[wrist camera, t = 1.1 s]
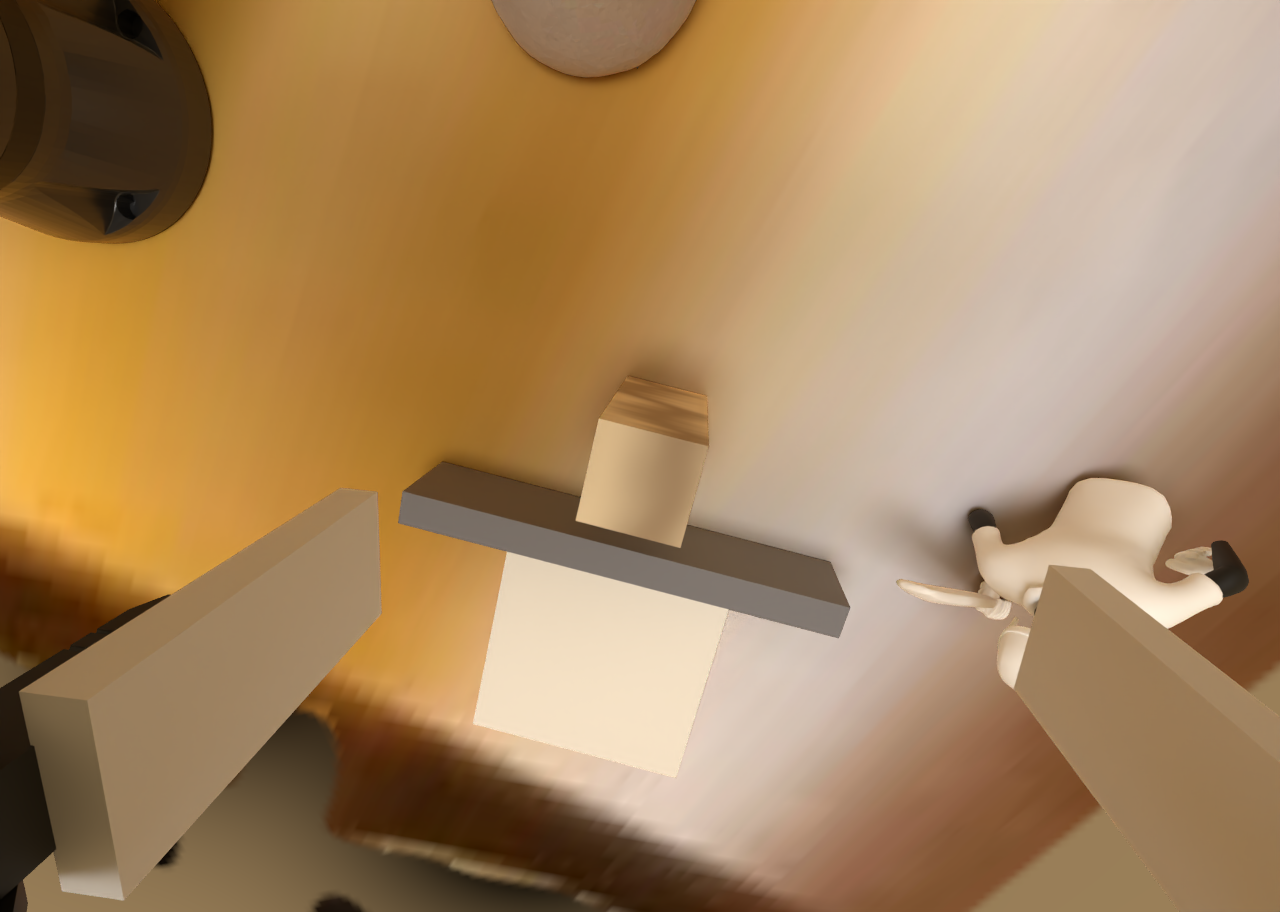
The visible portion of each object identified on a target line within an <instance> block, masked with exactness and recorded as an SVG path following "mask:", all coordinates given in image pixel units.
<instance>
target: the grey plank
mask: <svg viewBox="0 0 1280 912" xmlns="http://www.w3.org/2000/svg"><path fill="white" fill-rule="evenodd" d="M580 499H581V497H577V496H573V495H570V494H566V493H562V492H558V491H554V490H550V489H546V488H543V487H539V486H535V485H531V484H527V483H523V482H519V481H516V480H512V479H508V478H504V477H500V476H496V475H492V474H489V473H485V472H481V471H477V470H473V469H469V468H465V467H462V466H458V465H454V464H450V463H446V462H441V463H440V464H439V465H437V466H436V467H435V468H433V469H432V470H431V471H429V472H428V473H427V474H425V475H424V476H423V477H421V478H420V479H419V480H417V481H416V482H415V483H413V484H412V485H411V486H409V487H408V488H407V489H405V490H404V491H403V493H402V500H401V507H400V514H399V521H398V523H400V524H404V525H407V526H411V527H415V528H419V529H423V530H426V531H430V532H434V533H438V534H442V535H446V536H449V537H453V538H457V539H461V540H465V541H469V542H472V543H476V544H480V545H484V546H488V547H491V548H495V549H499V550H503V551H507V552H511V553H514V554H518V555H522V556H526V557H530V558H534V559H537V560H541V561H545V562H549V563H553V564H557V565H560V566H564V567H568V568H572V569H576V570H579V571H583V572H587V573H591V574H595V575H599V576H602V577H606V578H610V579H614V580H618V581H622V582H625V583H629V584H633V585H637V586H641V587H645V588H648V589H652V590H656V591H660V592H664V593H667V594H671V595H675V596H679V597H683V598H687V599H690V600H694V601H698V602H702V603H706V604H710V605H713V606H717V607H721V608H725V609H729V610H733V611H736V612H740V613H744V614H748V615H752V616H755V617H759V618H763V619H767V620H771V621H775V622H778V623H782V624H786V625H790V626H794V627H798V628H801V629H805V630H809V631H813V632H817V633H821V634H824V635H828V636H832V637H836V638H839V637H840V634H841V631H842V629H843V626H844V623H845V621H846V618H847V615H848V613H849V610H850V606H849V604H848V601H847V599H846V597H845V594H844V592H843V590H842V587H841V585H840V583H839V581H838V578H837V576H836V574H835V571H834V569H833V567H832V564H831V562H828V561H824V560H820V559H817V558H813V557H809V556H805V555H801V554H797V553H793V552H790V551H786V550H782V549H778V548H774V547H770V546H766V545H763V544H759V543H755V542H751V541H747V540H743V539H739V538H736V537H732V536H728V535H724V534H720V533H716V532H712V531H709V530H705V529H701V528H697V527H693V526H689V525H687V526H686V530H685V534H684V537H683V541H682V544H681V548H679V547H675V546H671V545H667V544H663V543H659V542H655V541H652V540H648V539H644V538H640V537H636V536H632V535H628V534H625V533H621V532H617V531H613V530H609V529H605V528H602V527H598V526H594V525H590V524H586V523H582V522H578V521H576V516H577V512H578V507H579V503H580Z"/></svg>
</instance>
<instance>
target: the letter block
mask: <svg viewBox="0 0 1280 912" xmlns="http://www.w3.org/2000/svg"><path fill="white" fill-rule="evenodd" d="M708 448H709V434H708V408H707V396H706V395H702V394H698V393H694V392H690V391H686V390H682V389H678V388H674V387H671V386H667V385H663V384H659V383H655V382H651V381H647V380H643V379H639V378H635V377H631V376H627V378H626V379H625V381H624V382H623V384H622V385H621V387H620V388H619V389H618V391H617V392H616V394H615V395H614V397H613V398H612V400H611V401H610V403H609V404H608V406H607V407H606V409H605V410H604V411H603V413H602V414H601V416H600V417H599V420H598V424H597V428H596V433H595V437H594V442H593V446H592V450H591V455H590V459H589V464H588V468H587V472H586V477H585V481H584V486H583V490H582V494H581V499H580V503H579V507H578V512H577V516H576V521H578V522H582V523H586V524H590V525H594V526H598V527H602V528H605V529H609V530H613V531H617V532H621V533H625V534H628V535H632V536H636V537H640V538H644V539H648V540H652V541H655V542H659V543H663V544H667V545H671V546H675V547H679V548H681V544H682V541H683V537H684V534H685V530H686V526H687V523H688V519H689V516H690V512H691V509H692V505H693V502H694V498H695V494H696V491H697V487H698V484H699V480H700V477H701V473H702V470H703V466H704V463H705V459H706V455H707V452H708Z"/></svg>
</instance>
